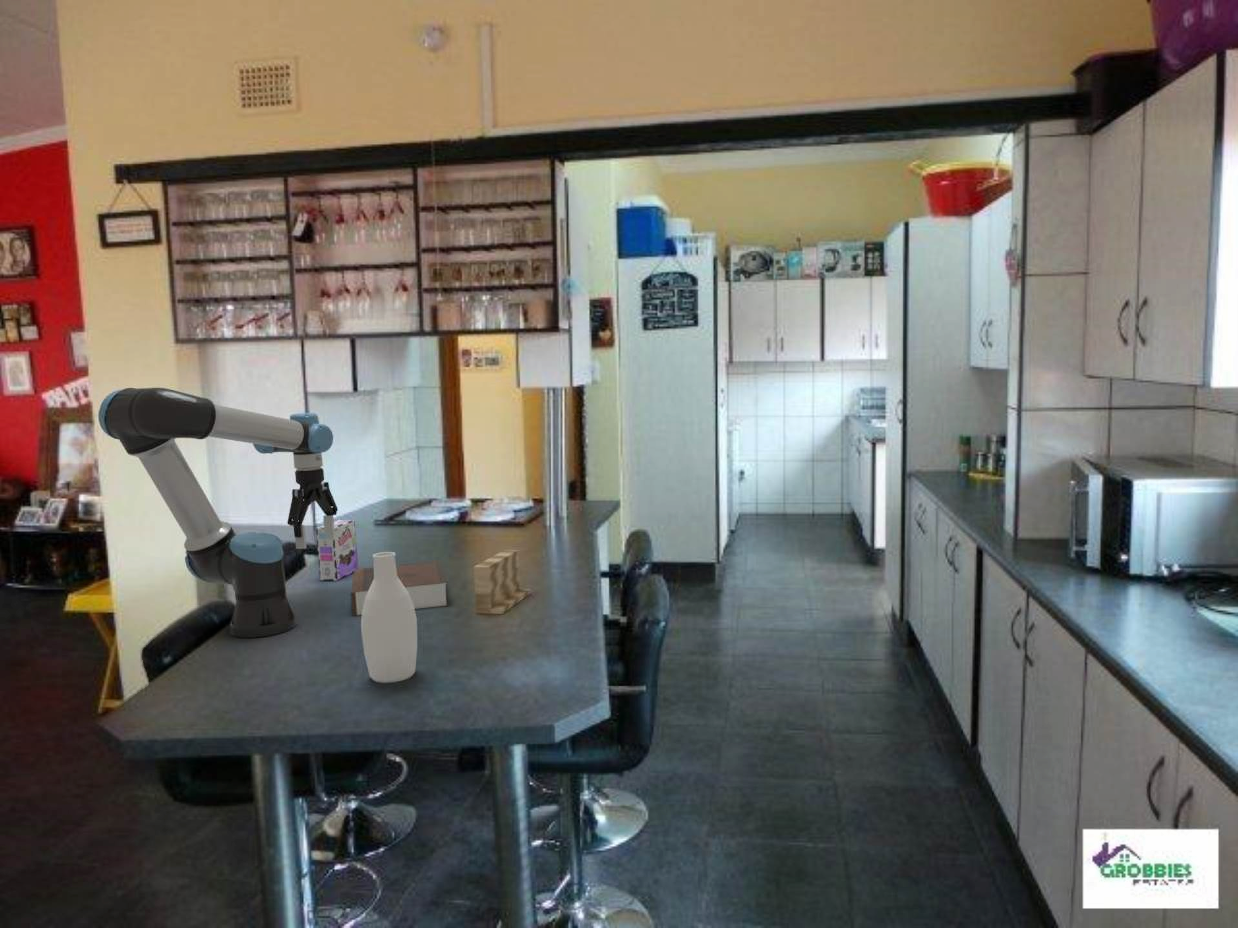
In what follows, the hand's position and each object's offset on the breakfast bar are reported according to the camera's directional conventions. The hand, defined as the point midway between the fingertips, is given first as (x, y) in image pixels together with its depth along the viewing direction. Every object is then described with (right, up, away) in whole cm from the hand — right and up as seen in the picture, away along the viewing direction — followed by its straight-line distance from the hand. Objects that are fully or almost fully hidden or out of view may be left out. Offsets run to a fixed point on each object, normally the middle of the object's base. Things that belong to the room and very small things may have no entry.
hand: (316, 543), depth 252 cm
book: (+25, -15, -6) cm, 30 cm away
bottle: (+39, -21, -68) cm, 81 cm away
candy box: (-1, -12, +23) cm, 26 cm away
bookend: (+55, -14, -16) cm, 59 cm away
